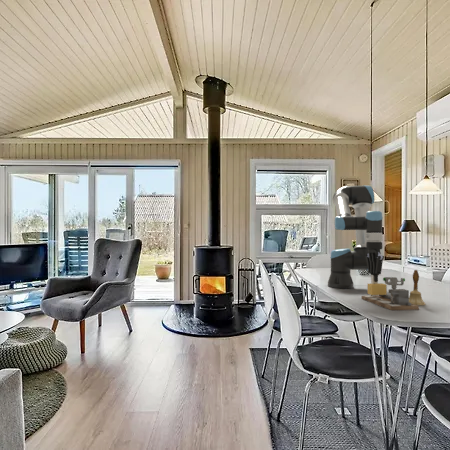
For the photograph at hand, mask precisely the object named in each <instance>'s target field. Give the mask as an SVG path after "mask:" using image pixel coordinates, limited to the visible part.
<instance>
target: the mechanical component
mask: <svg viewBox="0 0 450 450" xmlns="http://www.w3.org/2000/svg"><path fill="white" fill-rule="evenodd" d="M382 281H383V282H384V284H386V285H387V286H391V288H390V289H398V287H397V286H403V285H404V282H406V279H405V277H404V278H403V277H400V280H399V279H398V277H392V276H388V277H387V276H384V277H383V278H382ZM393 297H394V294H393Z"/></svg>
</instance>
